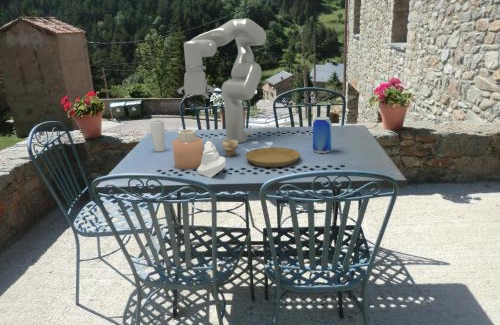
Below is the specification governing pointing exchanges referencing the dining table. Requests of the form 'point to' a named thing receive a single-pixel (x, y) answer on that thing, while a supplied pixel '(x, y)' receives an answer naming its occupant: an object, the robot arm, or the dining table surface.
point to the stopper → (230, 147)
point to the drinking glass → (158, 134)
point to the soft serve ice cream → (211, 161)
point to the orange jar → (187, 149)
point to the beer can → (322, 135)
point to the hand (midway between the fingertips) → (197, 107)
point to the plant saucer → (272, 156)
